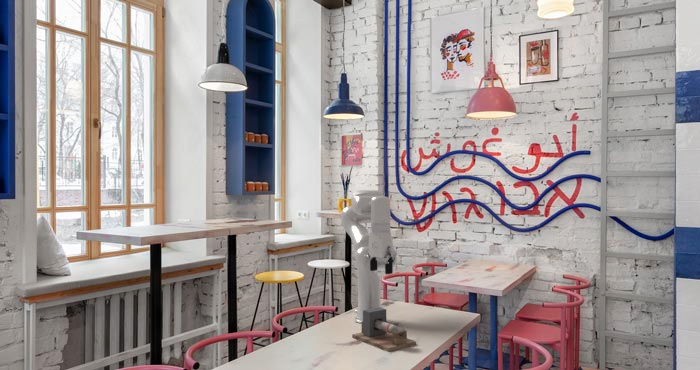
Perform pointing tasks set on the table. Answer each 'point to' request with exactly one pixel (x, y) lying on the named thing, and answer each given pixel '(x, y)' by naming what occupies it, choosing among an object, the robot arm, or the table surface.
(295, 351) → the table surface
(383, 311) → the collar
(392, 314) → the table surface
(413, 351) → the table surface
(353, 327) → the table surface
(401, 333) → the pipe rig
